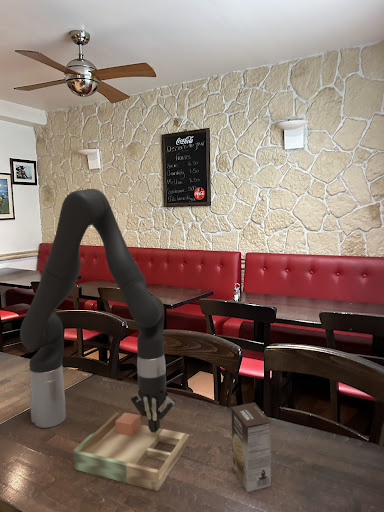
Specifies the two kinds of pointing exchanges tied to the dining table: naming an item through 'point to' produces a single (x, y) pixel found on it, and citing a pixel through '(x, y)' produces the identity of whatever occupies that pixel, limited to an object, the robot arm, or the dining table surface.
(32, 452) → the dining table surface
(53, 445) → the dining table surface
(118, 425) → the block
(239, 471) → the coffee box
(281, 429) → the dining table surface
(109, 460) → the box
